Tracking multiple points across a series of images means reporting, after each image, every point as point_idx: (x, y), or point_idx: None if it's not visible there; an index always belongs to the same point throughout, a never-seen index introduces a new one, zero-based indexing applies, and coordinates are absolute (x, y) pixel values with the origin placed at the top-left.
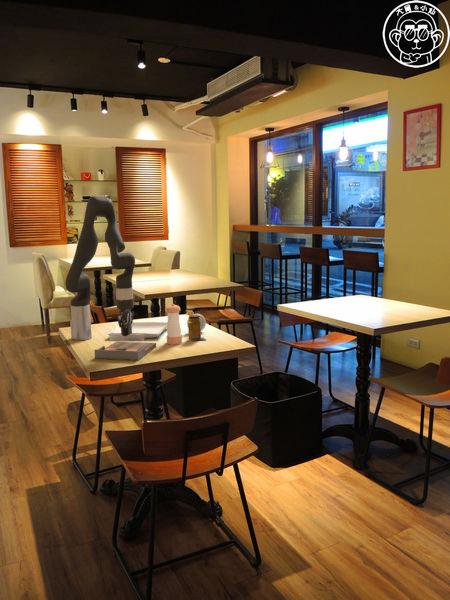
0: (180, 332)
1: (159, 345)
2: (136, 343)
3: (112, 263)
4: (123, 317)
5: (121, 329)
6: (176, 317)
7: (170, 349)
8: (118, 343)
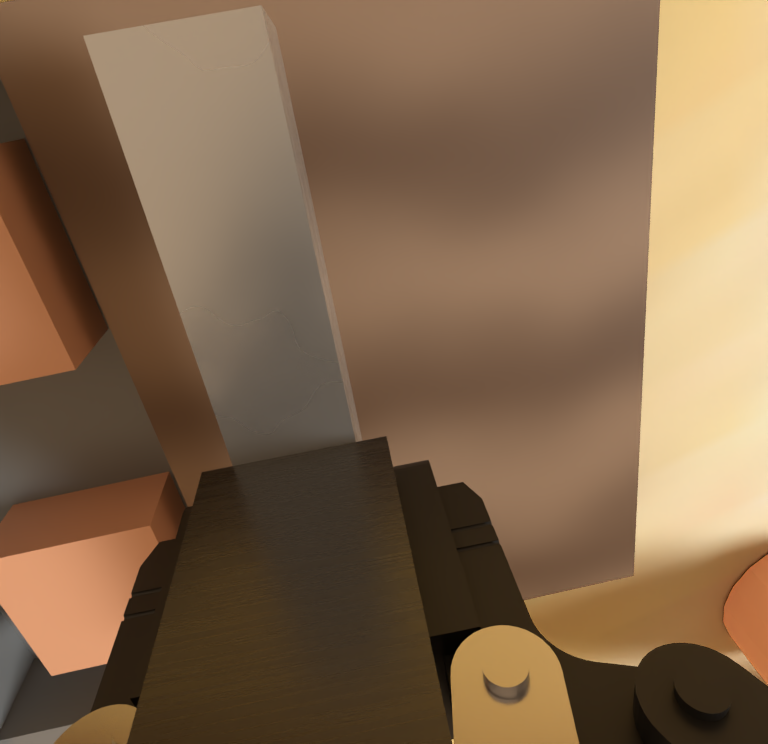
0: None
1: (682, 527)
2: (566, 377)
3: None
4: None
5: (179, 598)
6: None
7: None
8: (511, 49)
